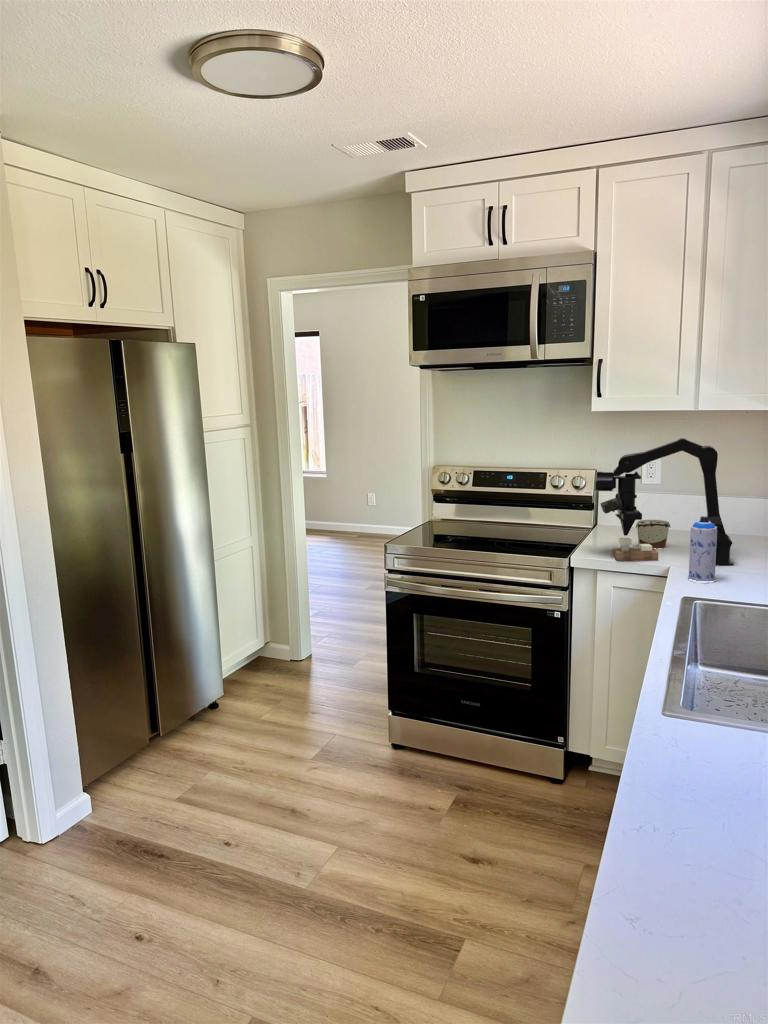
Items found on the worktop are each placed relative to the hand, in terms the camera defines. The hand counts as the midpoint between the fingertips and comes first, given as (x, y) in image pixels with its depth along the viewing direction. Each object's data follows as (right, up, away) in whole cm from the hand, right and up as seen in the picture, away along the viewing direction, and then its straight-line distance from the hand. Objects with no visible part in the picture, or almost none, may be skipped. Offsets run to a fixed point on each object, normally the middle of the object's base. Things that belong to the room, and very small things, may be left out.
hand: (625, 535), depth 245 cm
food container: (+15, -5, +17) cm, 23 cm away
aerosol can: (+14, -13, -27) cm, 34 cm away
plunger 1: (0, -6, +1) cm, 6 cm away
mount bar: (+4, -8, +1) cm, 9 cm away
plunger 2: (+7, -8, +1) cm, 11 cm away
